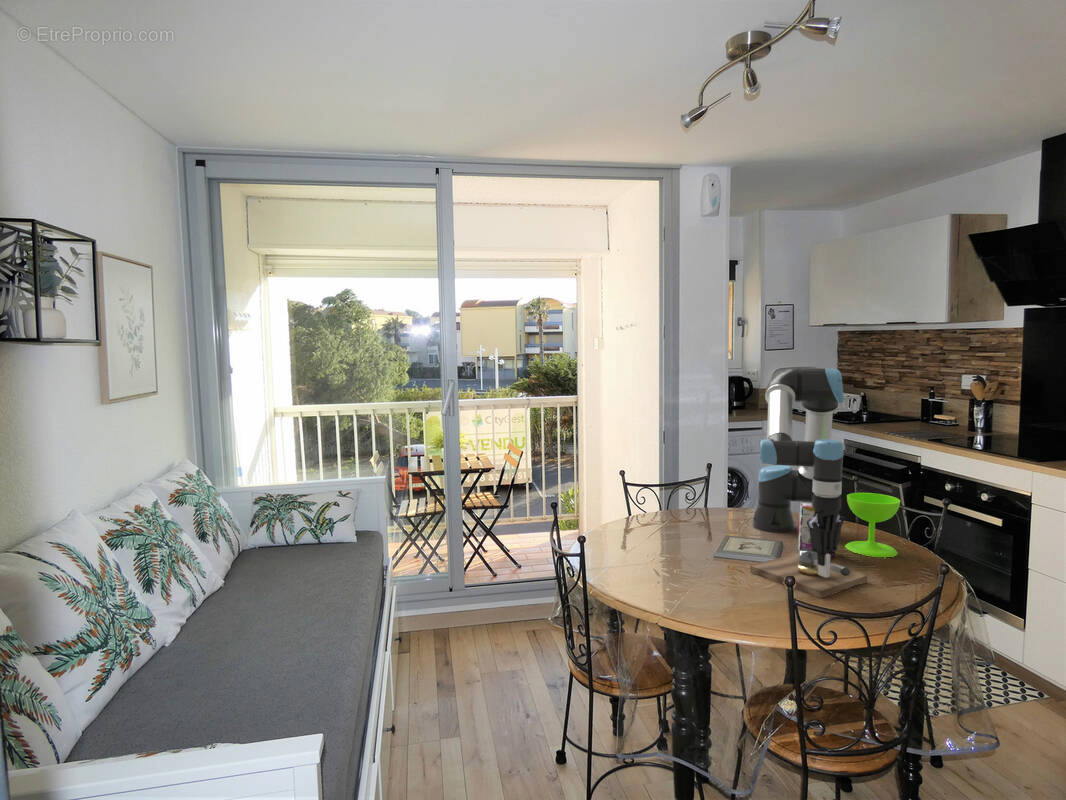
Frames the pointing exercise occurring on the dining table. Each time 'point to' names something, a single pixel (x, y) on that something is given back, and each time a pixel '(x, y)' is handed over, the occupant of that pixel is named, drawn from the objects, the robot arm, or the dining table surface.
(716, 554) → the dining table surface
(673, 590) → the dining table surface
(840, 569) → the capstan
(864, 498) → the wineglass
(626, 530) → the dining table surface
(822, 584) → the board
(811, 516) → the candy bar box
